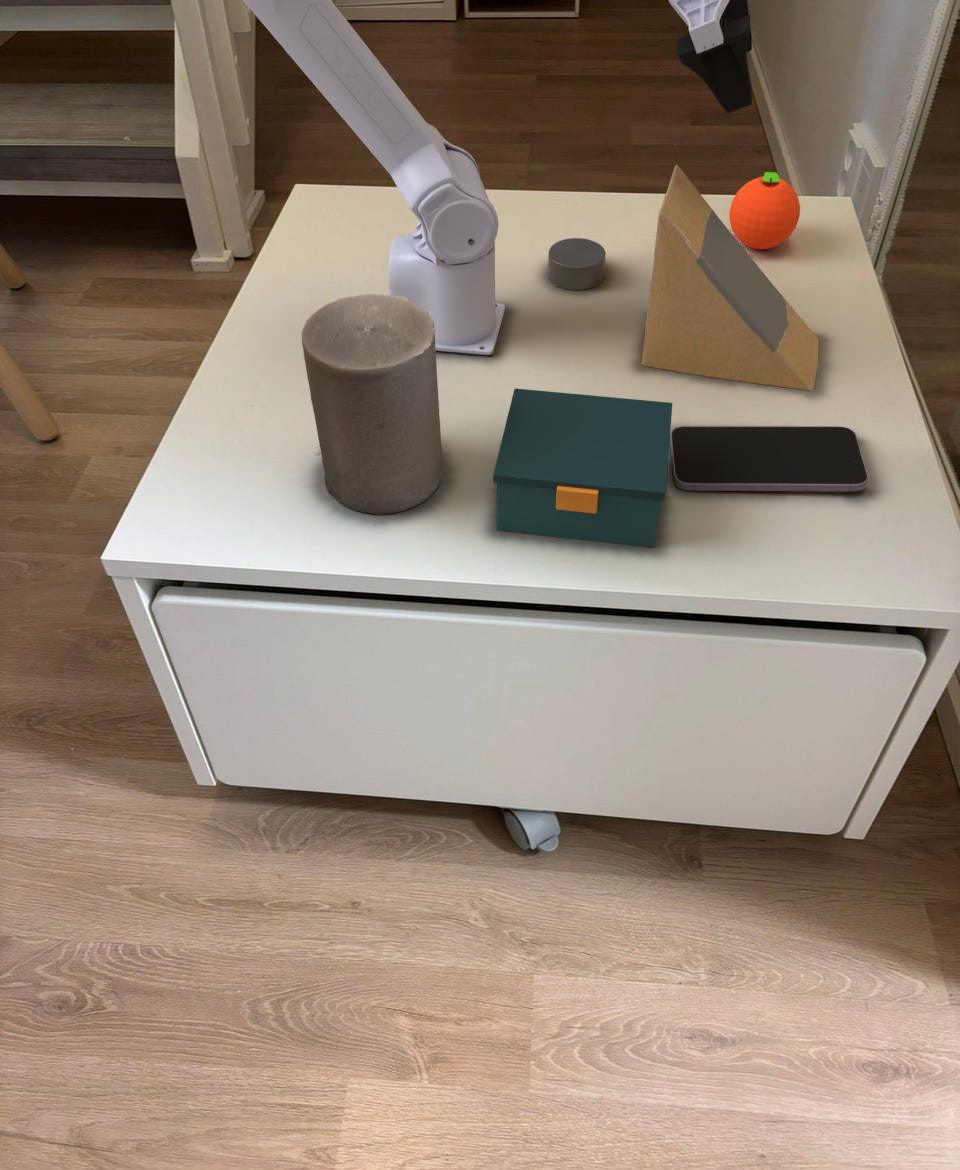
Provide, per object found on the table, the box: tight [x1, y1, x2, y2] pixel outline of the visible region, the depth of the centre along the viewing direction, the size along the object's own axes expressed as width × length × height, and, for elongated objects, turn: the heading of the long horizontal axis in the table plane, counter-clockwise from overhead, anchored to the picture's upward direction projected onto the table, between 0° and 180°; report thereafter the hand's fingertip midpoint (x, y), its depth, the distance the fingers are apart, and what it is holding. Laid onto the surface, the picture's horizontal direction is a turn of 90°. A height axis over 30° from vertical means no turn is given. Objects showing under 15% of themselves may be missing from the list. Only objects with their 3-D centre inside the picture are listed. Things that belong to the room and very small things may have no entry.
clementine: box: [728, 171, 801, 250], centre depth 104 cm, size 8×7×7 cm
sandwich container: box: [641, 164, 820, 392], centre depth 88 cm, size 9×15×15 cm, turn 74°
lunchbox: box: [492, 388, 673, 548], centre depth 79 cm, size 12×11×6 cm
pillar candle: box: [301, 293, 443, 515], centre depth 78 cm, size 10×10×15 cm
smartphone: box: [669, 425, 869, 492], centre depth 83 cm, size 7×1×15 cm
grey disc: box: [547, 237, 607, 291], centre depth 102 cm, size 6×6×2 cm
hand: (739, 79), depth 84 cm, fingers open, 7 cm apart
